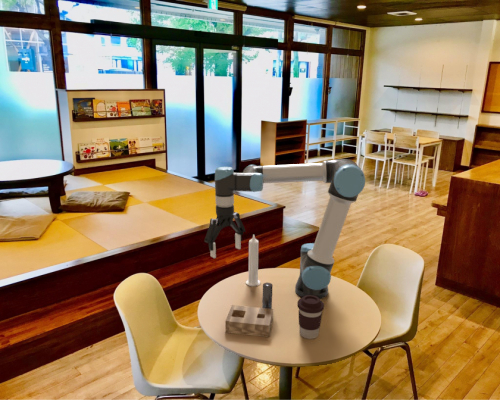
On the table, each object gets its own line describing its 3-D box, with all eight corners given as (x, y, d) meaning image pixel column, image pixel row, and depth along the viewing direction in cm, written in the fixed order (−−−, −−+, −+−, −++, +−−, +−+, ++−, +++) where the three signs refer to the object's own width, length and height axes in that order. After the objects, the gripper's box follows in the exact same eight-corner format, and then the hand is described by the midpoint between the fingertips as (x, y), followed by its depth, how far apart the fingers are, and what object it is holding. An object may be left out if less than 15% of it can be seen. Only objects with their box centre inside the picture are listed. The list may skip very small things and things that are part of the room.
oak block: (272, 319, 172) (272, 309, 170) (268, 337, 160) (269, 325, 159) (231, 315, 174) (231, 304, 173) (225, 332, 163) (225, 320, 162)
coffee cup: (304, 323, 170) (306, 290, 165) (326, 333, 164) (329, 298, 159) (291, 334, 162) (292, 300, 158) (313, 344, 156) (315, 309, 152)
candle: (258, 287, 198) (259, 237, 191) (244, 285, 200) (244, 236, 193) (261, 280, 205) (262, 232, 198) (247, 279, 206) (247, 231, 199)
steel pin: (272, 310, 179) (273, 283, 175) (271, 315, 175) (271, 287, 171) (262, 309, 179) (263, 282, 176) (261, 314, 175) (262, 286, 172)
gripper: (241, 197, 183) (242, 242, 189) (194, 208, 167) (196, 258, 173) (253, 200, 178) (253, 247, 184) (205, 213, 162) (207, 263, 168)
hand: (225, 252), depth 179 cm, fingers open, 13 cm apart
